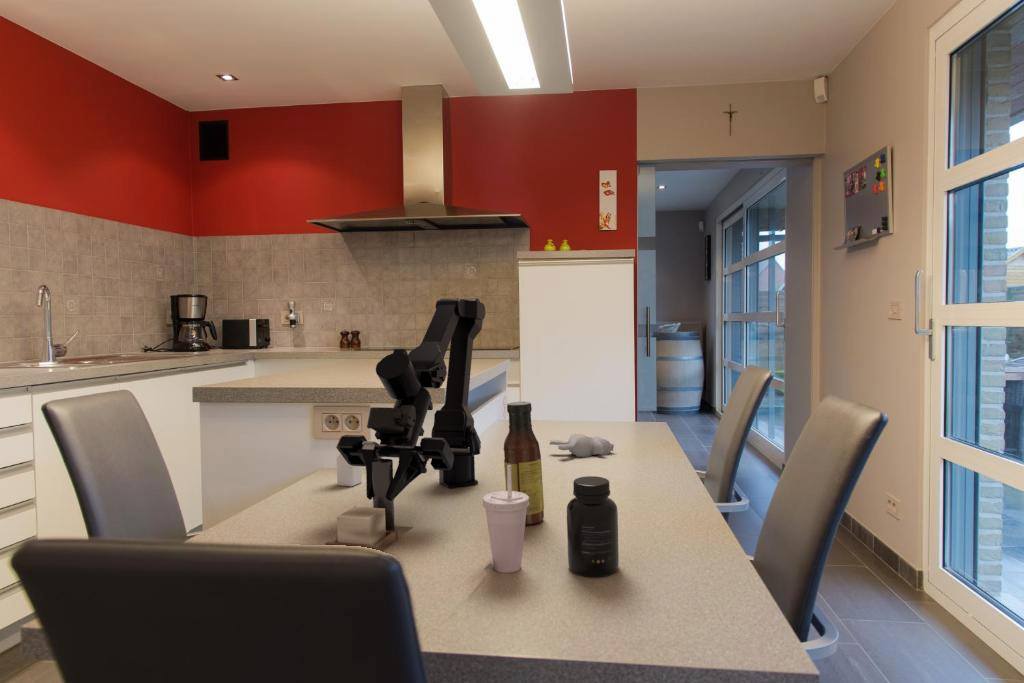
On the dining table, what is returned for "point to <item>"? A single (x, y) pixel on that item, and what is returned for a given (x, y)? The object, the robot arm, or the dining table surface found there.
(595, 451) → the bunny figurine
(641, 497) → the dining table surface
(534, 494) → the sauce bottle
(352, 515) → the birch block
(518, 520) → the smoothie
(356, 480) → the white plastic bottle
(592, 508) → the supplement bottle
